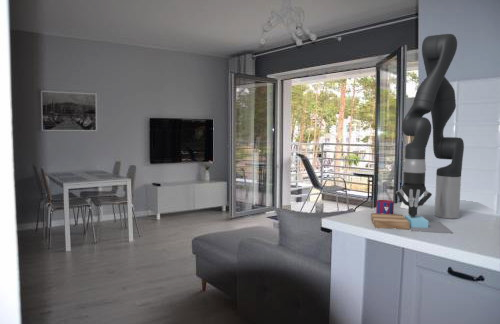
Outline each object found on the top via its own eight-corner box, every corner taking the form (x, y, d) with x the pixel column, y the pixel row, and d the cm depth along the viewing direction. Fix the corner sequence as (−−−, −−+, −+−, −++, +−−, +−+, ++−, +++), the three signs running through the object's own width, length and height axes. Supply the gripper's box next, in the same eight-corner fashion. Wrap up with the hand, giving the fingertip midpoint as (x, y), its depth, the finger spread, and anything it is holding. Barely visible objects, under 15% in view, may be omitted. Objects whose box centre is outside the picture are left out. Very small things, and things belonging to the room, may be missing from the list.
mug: (377, 218, 159) (378, 202, 158) (373, 213, 169) (374, 198, 168) (394, 219, 158) (395, 202, 157) (389, 214, 168) (390, 198, 167)
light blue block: (404, 221, 153) (404, 215, 152) (420, 222, 152) (420, 215, 152) (411, 227, 144) (411, 220, 143) (428, 227, 143) (428, 221, 143)
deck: (370, 219, 157) (371, 213, 157) (402, 220, 155) (402, 214, 155) (375, 227, 144) (375, 221, 144) (409, 229, 142) (409, 222, 141)
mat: (402, 220, 155) (402, 219, 155) (440, 222, 153) (440, 221, 153) (410, 231, 140) (410, 229, 140) (453, 233, 137) (453, 232, 137)
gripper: (430, 170, 149) (428, 215, 150) (394, 169, 151) (392, 213, 153) (436, 172, 141) (433, 219, 143) (397, 171, 144) (395, 217, 145)
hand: (412, 216), depth 148 cm, fingers closed
